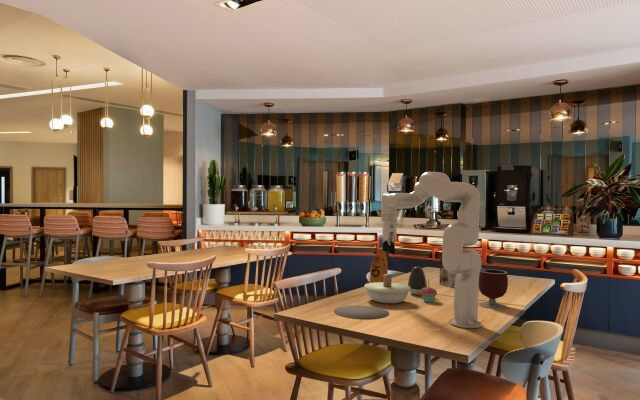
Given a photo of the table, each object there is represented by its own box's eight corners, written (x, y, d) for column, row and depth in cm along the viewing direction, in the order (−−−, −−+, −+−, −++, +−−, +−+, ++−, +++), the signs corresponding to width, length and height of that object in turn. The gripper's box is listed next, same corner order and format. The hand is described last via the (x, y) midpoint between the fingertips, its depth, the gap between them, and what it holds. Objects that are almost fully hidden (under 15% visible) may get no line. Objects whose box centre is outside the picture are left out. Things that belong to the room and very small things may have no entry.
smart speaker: (419, 291, 259) (420, 264, 259) (430, 295, 250) (431, 267, 249) (403, 292, 256) (404, 265, 256) (414, 296, 246) (414, 268, 246)
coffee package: (366, 285, 275) (367, 248, 275) (374, 281, 286) (375, 246, 286) (382, 287, 271) (383, 249, 270) (389, 283, 282) (390, 247, 281)
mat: (396, 320, 197) (396, 319, 197) (338, 321, 194) (338, 319, 194) (381, 306, 222) (381, 305, 222) (329, 307, 218) (329, 305, 218)
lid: (417, 293, 222) (417, 278, 222) (370, 293, 219) (370, 278, 219) (402, 284, 245) (402, 271, 245) (360, 284, 242) (360, 270, 242)
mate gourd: (505, 303, 234) (506, 264, 233) (509, 310, 220) (510, 268, 220) (473, 301, 238) (474, 262, 238) (474, 307, 224) (475, 266, 224)
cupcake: (437, 303, 231) (437, 279, 231) (419, 302, 232) (420, 278, 232) (436, 299, 239) (437, 276, 239) (419, 298, 241) (420, 275, 241)
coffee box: (438, 284, 283) (439, 258, 283) (447, 283, 286) (447, 257, 285) (448, 287, 275) (449, 260, 274) (457, 286, 277) (458, 259, 277)
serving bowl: (375, 308, 219) (375, 293, 219) (360, 298, 239) (360, 285, 239) (415, 306, 224) (415, 292, 224) (397, 296, 245) (397, 284, 245)
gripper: (401, 218, 223) (401, 254, 223) (391, 217, 241) (390, 250, 241) (386, 218, 222) (385, 254, 222) (377, 217, 240) (376, 250, 240)
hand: (388, 252), depth 231 cm, fingers open, 9 cm apart
